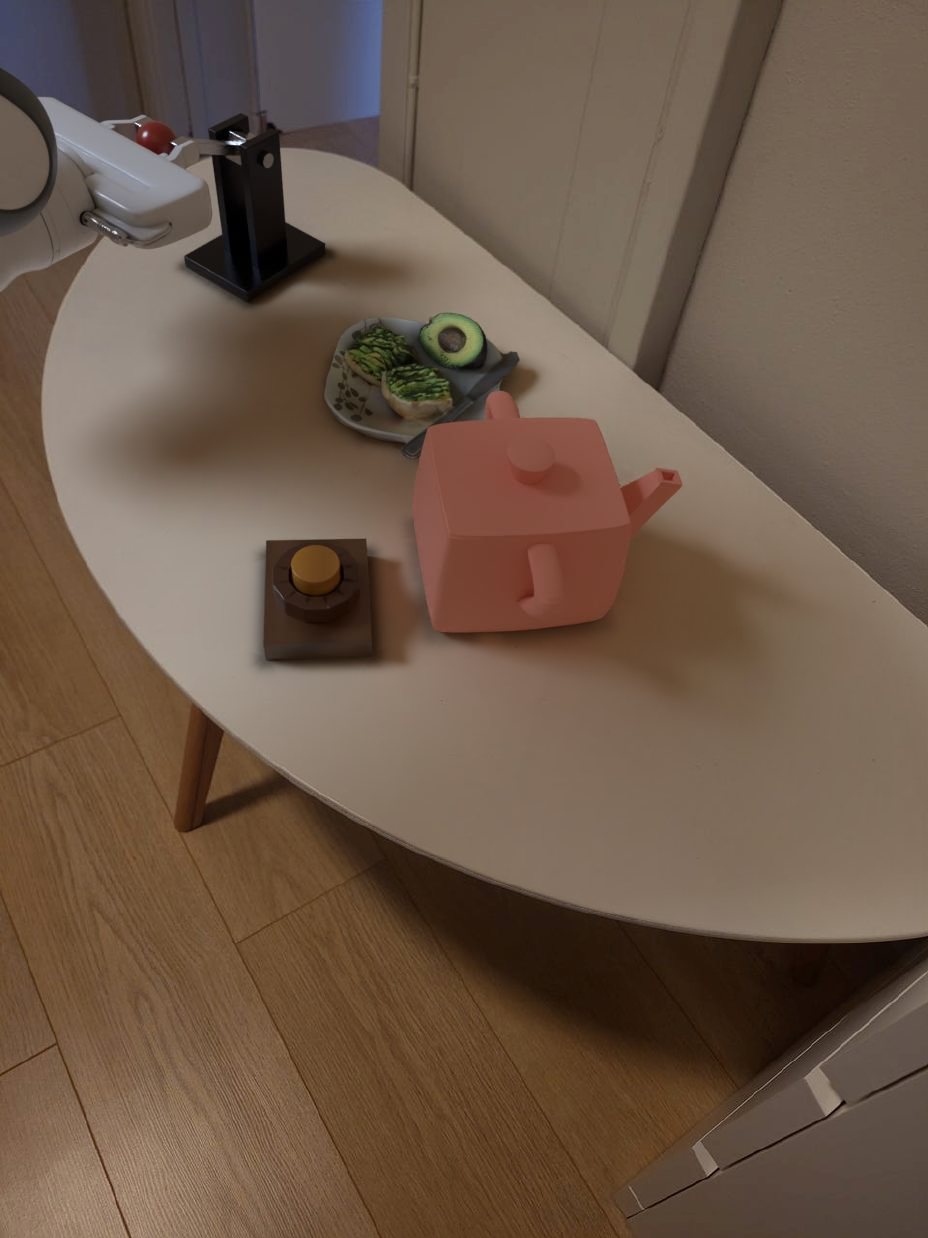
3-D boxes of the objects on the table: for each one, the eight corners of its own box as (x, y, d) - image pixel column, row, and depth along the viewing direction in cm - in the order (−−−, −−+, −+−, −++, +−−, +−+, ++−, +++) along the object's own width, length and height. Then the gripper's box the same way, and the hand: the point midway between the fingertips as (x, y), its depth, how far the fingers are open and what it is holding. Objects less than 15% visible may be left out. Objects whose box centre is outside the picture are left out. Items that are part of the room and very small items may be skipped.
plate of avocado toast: (497, 487, 82) (503, 449, 78) (301, 452, 82) (298, 413, 78) (521, 351, 93) (527, 313, 89) (349, 321, 93) (348, 282, 89)
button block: (265, 660, 69) (260, 630, 66) (268, 557, 75) (264, 525, 71) (371, 656, 70) (372, 626, 67) (366, 555, 76) (366, 523, 73)
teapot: (435, 693, 69) (450, 580, 57) (401, 480, 81) (408, 353, 70) (684, 671, 72) (744, 560, 61) (615, 470, 84) (654, 347, 73)
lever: (154, 173, 78) (159, 128, 76) (124, 157, 79) (129, 112, 77) (265, 175, 90) (272, 136, 88) (239, 161, 91) (245, 122, 89)
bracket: (248, 303, 93) (233, 172, 82) (185, 266, 96) (162, 134, 85) (326, 253, 100) (321, 125, 88) (264, 220, 102) (253, 91, 91)
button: (292, 597, 68) (291, 582, 67) (292, 559, 70) (291, 545, 69) (340, 595, 69) (340, 581, 67) (339, 558, 71) (339, 544, 69)
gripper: (125, 214, 68) (256, 146, 75) (-52, 111, 73) (85, 57, 80) (142, 287, 73) (263, 217, 80) (-25, 186, 79) (101, 129, 86)
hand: (172, 136), depth 80 cm, fingers closed on lever, 3 cm apart
